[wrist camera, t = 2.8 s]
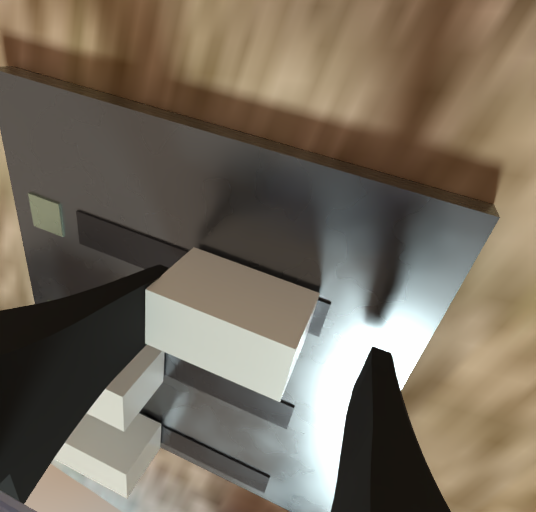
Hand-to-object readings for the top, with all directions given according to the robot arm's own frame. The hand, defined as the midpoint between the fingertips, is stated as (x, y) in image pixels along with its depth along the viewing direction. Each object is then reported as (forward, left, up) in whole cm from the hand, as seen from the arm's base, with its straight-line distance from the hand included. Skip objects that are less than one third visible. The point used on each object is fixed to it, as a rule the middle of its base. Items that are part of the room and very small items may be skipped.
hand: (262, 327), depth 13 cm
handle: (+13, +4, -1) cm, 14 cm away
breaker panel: (+5, +1, -3) cm, 6 cm away
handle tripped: (+1, -1, -1) cm, 2 cm away
